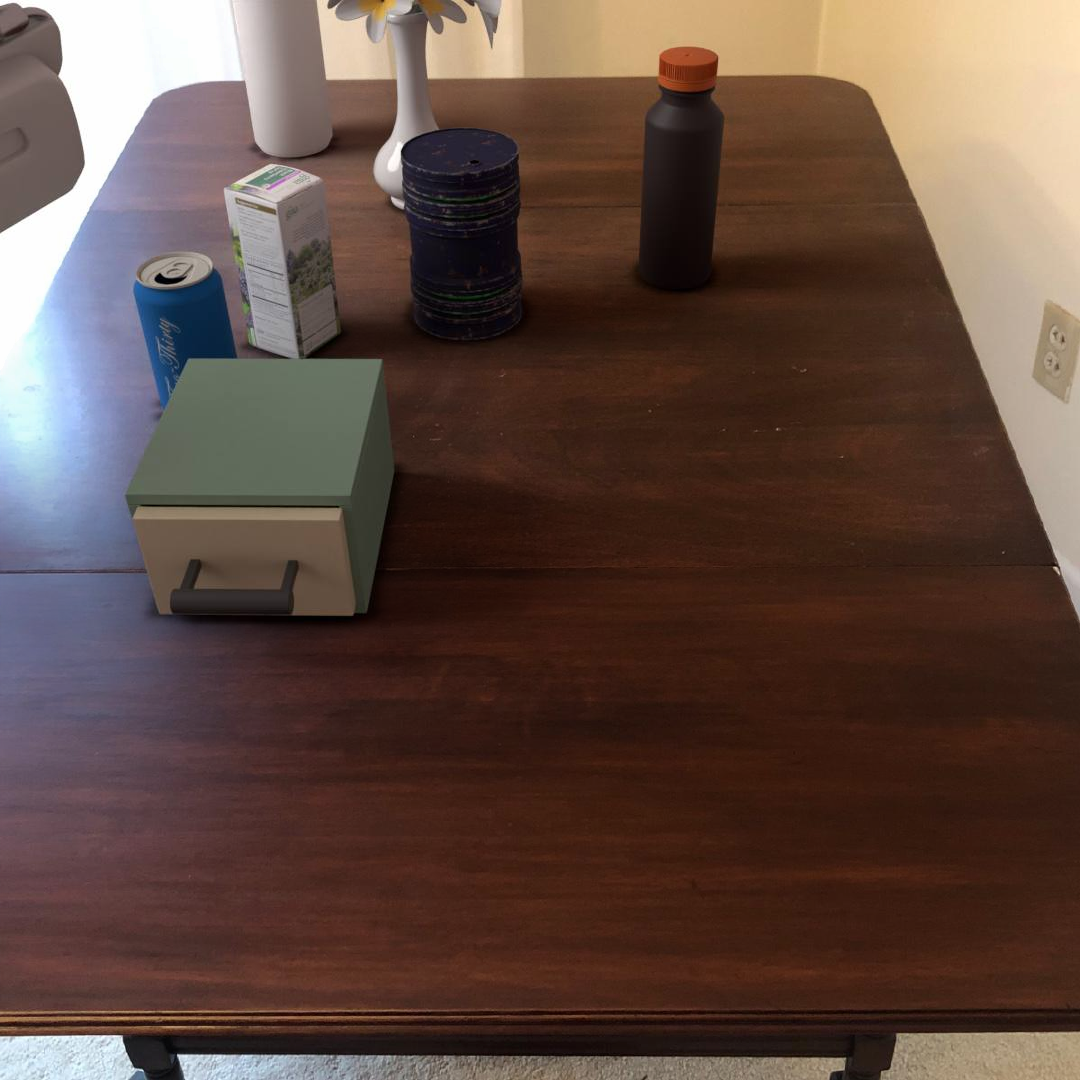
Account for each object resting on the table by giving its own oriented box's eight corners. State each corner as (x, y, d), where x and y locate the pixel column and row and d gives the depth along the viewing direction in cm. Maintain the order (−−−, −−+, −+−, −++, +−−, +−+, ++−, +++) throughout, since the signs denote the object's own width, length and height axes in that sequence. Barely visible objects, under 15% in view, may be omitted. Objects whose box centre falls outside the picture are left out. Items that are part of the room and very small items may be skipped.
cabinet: (366, 613, 79) (350, 495, 73) (157, 612, 79) (124, 494, 73) (394, 470, 91) (382, 358, 85) (213, 469, 91) (188, 358, 85)
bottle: (630, 286, 113) (639, 65, 100) (647, 253, 118) (658, 39, 105) (702, 296, 111) (721, 72, 98) (717, 262, 116) (736, 46, 103)
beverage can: (148, 422, 96) (112, 284, 88) (185, 379, 101) (155, 245, 93) (224, 432, 95) (194, 293, 87) (258, 388, 100) (233, 253, 92)
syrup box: (291, 317, 109) (267, 159, 99) (344, 334, 106) (324, 174, 97) (248, 346, 105) (219, 184, 96) (302, 364, 103) (277, 200, 93)
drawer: (343, 664, 74) (328, 566, 69) (140, 662, 74) (110, 565, 69) (381, 479, 88) (371, 387, 84) (211, 478, 89) (191, 387, 84)
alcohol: (260, 131, 143) (214, -161, 124) (336, 128, 143) (301, -163, 124) (251, 160, 136) (201, -143, 117) (330, 158, 136) (293, -146, 117)
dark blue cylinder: (395, 301, 111) (380, 140, 101) (493, 277, 114) (487, 119, 105) (440, 351, 104) (428, 183, 94) (542, 324, 107) (541, 159, 98)
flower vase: (522, 218, 124) (517, -47, 108) (339, 231, 122) (307, -37, 106) (507, 168, 134) (500, -82, 118) (337, 179, 132) (307, -74, 116)
